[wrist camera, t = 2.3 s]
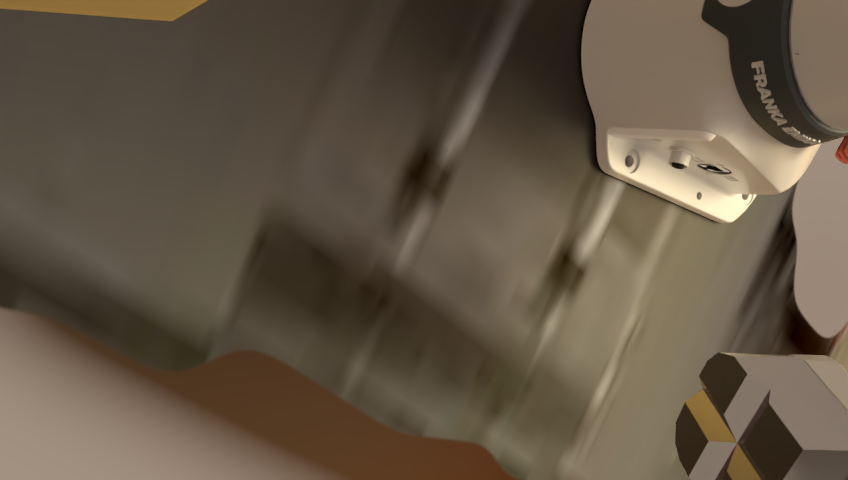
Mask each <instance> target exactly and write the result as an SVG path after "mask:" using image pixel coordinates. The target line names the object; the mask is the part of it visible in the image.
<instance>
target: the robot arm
mask: <svg viewBox="0 0 848 480" xmlns="http://www.w3.org/2000/svg"><path fill="white" fill-rule="evenodd" d="M581 63H582V74H583V80H584V85H585V90H586V94H587V97H588V100H589V103H590V106H591V109H592V112H593V116H594V119H595V124H596V152H597V160H598V164H599V166H600V168H601V169H602V171H604V172H605V173H607V174H609V175H611V176H613V177H616V178H618V179H620V180H622V181H625V182H627V183H629V184H632V185H634V186H636V187H638V188H641V189H643V190H645V191H648V192H650V193H652V194H654V195H657V196H659V197H661V198H663V199H666V200H668V201H670V202H673V203H675V204H677V205H679V206H682V207H684V208H686V209H689V210H691V211H693V212H695V213H698V214H700V215H702V216H704V217H707V218H709V219H711V220H714V221H716V222H720V223H730V222H733V221H734V220H736V219H737V218H738V217H739V216H740V215H741V214H742V213H743V212H744V211H745V210H746V209H747V208H748V207H749V205H750V204H751V203H752V201H753V200H754V198H755V197H756V195H757V194H758V195H771V194H778V193H781V192H783V191H785V190H787V189H789V188H790V187H791V186H792V185H793V184H795V183H796V182H797V181H798V180H799V178H800V177H801V176H802V175H803V173H804V172H805V170H806V169H807V167H808V166H809V164H810V162H811V160H812V159H813V157H814V155H815V154H816V152H817V150H818V148H819V146H820V144H821V143H824V142H828V141H831V140H834V139H838V138H841V137H844V139H843V141H842V143H841V144H840V146H839V147H838V150H837V152H836V154H835V155H836V158H837V159H838V160H839V161H841V162H843V163H845V164H848V0H591V3H590V5H589V8H588V11H587V15H586V19H585V23H584V28H583V35H582V46H581ZM625 158H626V163H625ZM699 378H700V381H701V385H702V388H703V390H701V391H700V392H699V393H697V394H696V395H694V396H693V397H692V398H690V399H689V400H687V401H686V402H685V404H684V406H683V408H682V410H681V412H680V414H679V416H678V419H677V421H676V434H675V445H676V448H677V452H678V456H679V460H680V462H681V464H682V466H683V468H684V469H685V471H686V473H687V475H688V477H689V478H690V479H692V480H848V372H847V371H846V369H845V368H844V367H843V366H842V365H841V364H840V363H839V362H837V361H835V360H833V359H831V358H830V357H828V356H826V355H788V356H786V355H769V354H745V353H722V352H718V353H717V354H716V355H714V356H713V357H712V358H710V359H709V360H708V361H707V362H706V364H705V366H704V368H703V370H702V371H701V373H700V375H699Z"/></svg>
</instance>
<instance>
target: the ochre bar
mask: <svg viewBox="0 0 848 480" xmlns="http://www.w3.org/2000/svg"><path fill="white" fill-rule="evenodd" d="M206 1H207V0H0V8H1V9H14V10H27V11H40V12H54V13H67V14H80V15H94V16H107V17H120V18H133V19H147V20H160V21H174V20H175V19H177V18H179V17H180V16H182V15H184V14H185V13H187V12H189V11H190V10H192V9H194V8H196V7H197V6H199V5H201V4H202V3H204V2H206Z"/></svg>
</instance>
